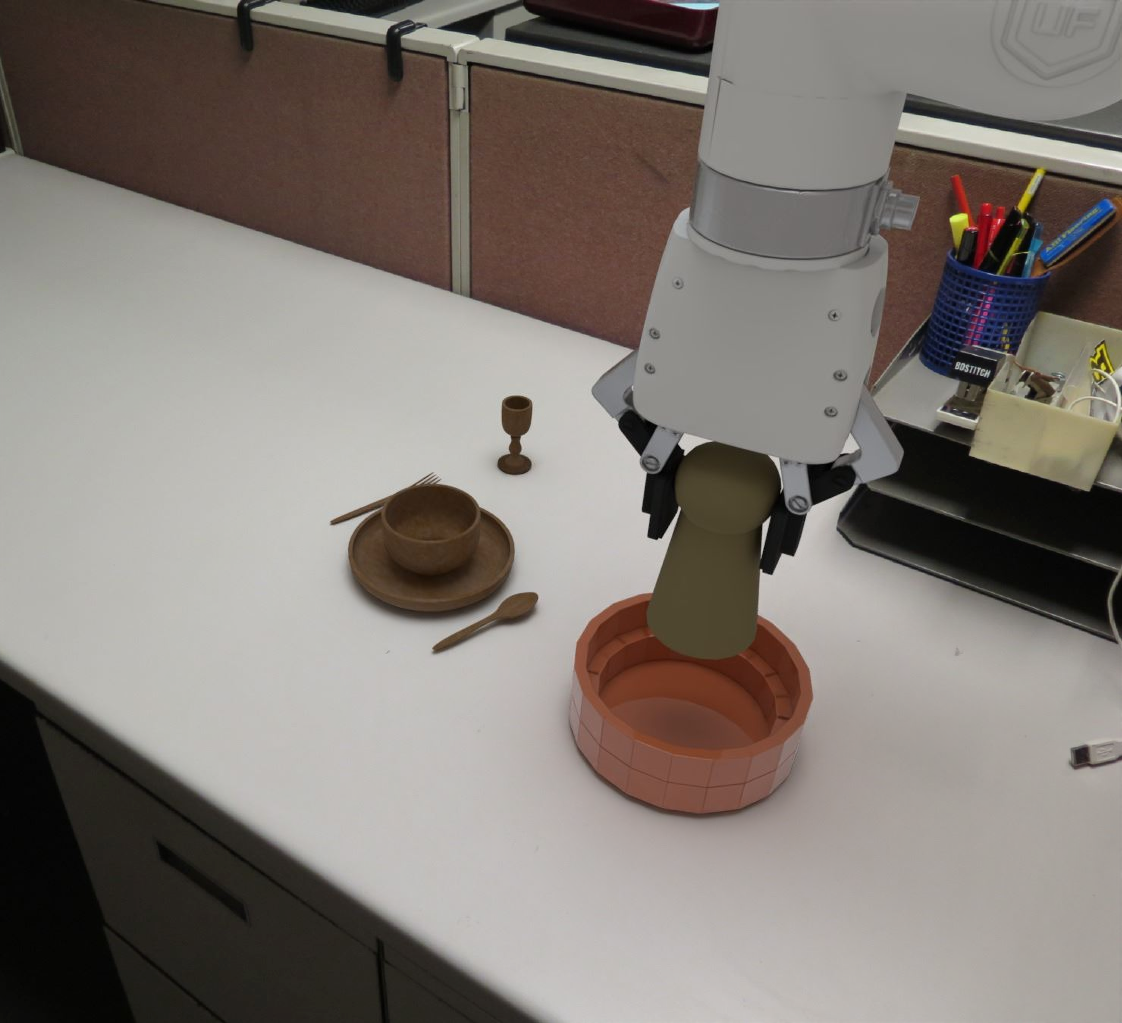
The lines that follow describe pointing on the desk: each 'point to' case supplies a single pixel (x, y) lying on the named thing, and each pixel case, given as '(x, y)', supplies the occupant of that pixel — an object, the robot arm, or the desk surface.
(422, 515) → the place setting
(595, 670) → the bowl
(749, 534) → the cork
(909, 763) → the desk surface
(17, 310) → the desk surface
